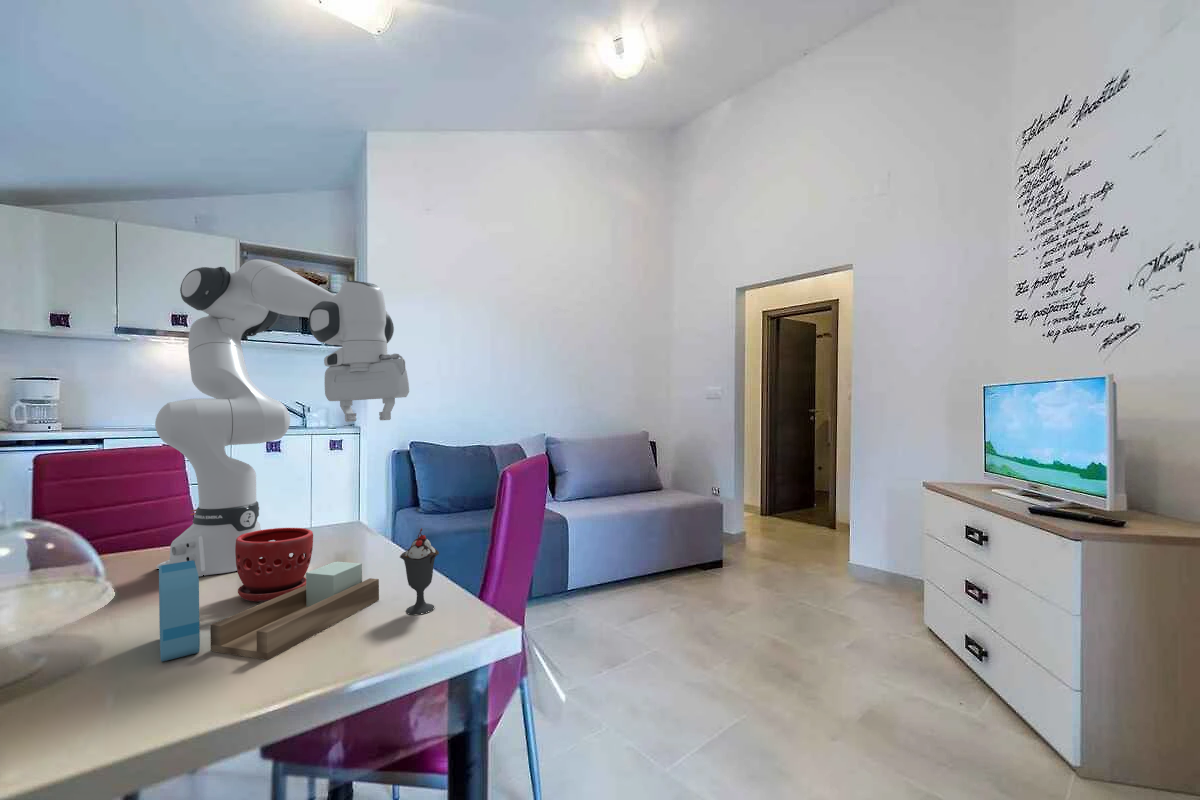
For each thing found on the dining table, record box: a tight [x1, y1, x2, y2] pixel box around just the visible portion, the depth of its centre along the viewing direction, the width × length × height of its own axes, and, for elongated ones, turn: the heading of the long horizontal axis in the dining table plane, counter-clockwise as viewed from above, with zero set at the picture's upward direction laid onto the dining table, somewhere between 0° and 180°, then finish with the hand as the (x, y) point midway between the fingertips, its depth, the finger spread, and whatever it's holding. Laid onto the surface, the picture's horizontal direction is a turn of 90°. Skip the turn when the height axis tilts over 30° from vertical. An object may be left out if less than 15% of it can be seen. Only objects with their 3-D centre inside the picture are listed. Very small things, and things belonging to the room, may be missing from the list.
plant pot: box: [235, 527, 314, 603], centre depth 105 cm, size 13×13×12 cm
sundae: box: [399, 528, 440, 615], centre depth 96 cm, size 7×7×15 cm
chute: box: [209, 577, 380, 661], centre depth 91 cm, size 11×24×4 cm, turn 164°
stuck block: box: [305, 561, 363, 607], centre depth 98 cm, size 6×7×6 cm
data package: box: [158, 560, 201, 663], centre depth 83 cm, size 12×4×12 cm, turn 40°
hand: (367, 421), depth 114 cm, fingers open, 8 cm apart
